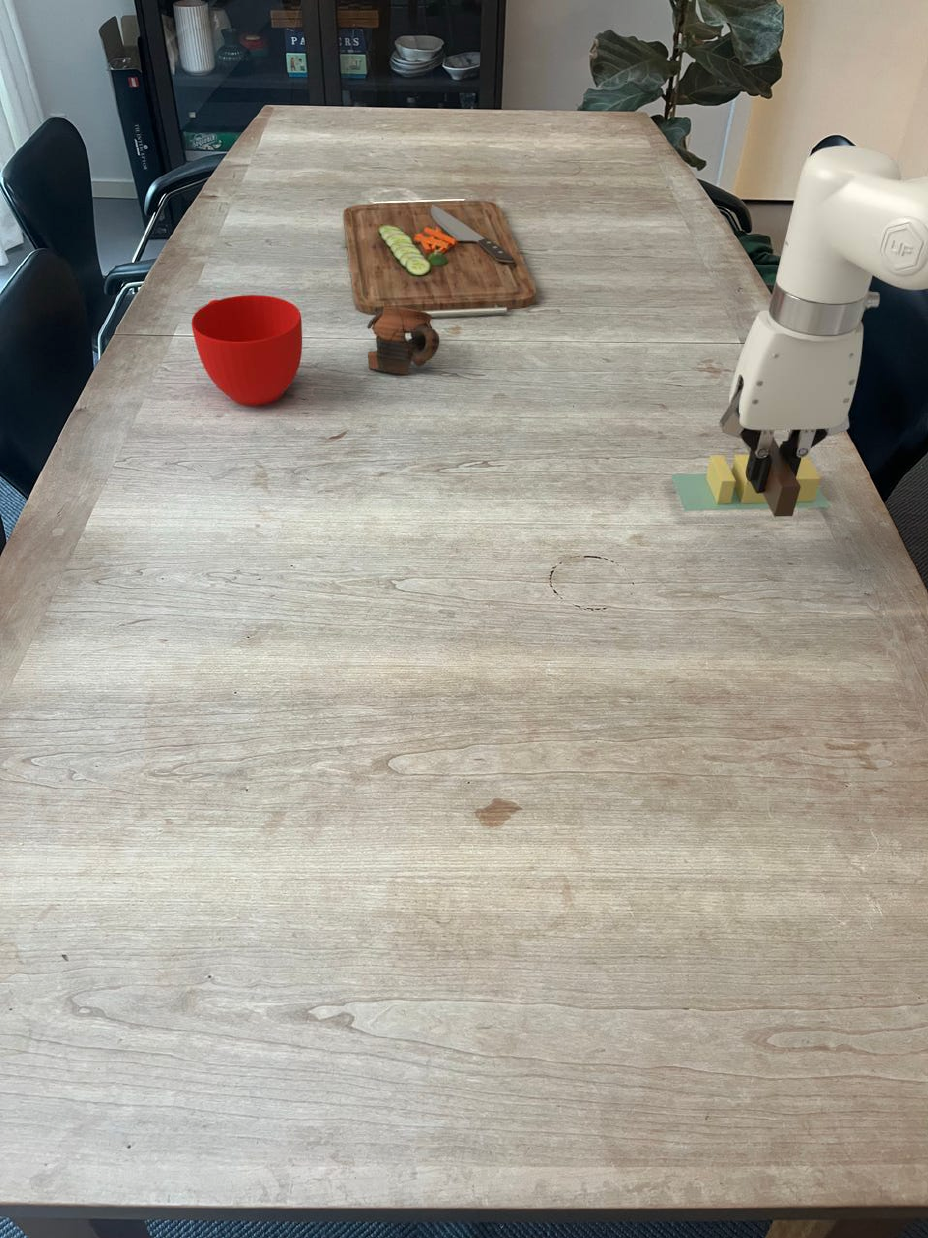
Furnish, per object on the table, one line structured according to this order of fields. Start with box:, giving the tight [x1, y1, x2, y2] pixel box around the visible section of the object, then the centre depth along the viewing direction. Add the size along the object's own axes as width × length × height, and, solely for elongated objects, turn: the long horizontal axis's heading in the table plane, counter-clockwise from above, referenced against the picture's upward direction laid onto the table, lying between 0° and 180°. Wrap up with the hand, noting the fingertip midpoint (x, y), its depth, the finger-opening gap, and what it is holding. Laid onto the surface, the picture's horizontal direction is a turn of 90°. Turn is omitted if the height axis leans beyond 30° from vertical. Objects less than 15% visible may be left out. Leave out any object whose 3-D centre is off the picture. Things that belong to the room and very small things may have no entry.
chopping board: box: [342, 197, 537, 317], centre depth 158 cm, size 45×27×3 cm, turn 8°
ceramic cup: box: [191, 294, 303, 407], centre depth 124 cm, size 13×17×10 cm
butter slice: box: [706, 454, 736, 504], centre depth 109 cm, size 2×5×3 cm, turn 4°
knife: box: [741, 436, 801, 518], centre depth 100 cm, size 2×19×3 cm, turn 3°
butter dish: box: [669, 472, 831, 512], centre depth 110 cm, size 16×7×1 cm, turn 94°
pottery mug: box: [366, 306, 440, 375], centre depth 131 cm, size 12×10×8 cm
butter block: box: [730, 454, 821, 503], centre depth 109 cm, size 8×5×3 cm, turn 94°
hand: (768, 483), depth 98 cm, fingers closed on knife, 1 cm apart
